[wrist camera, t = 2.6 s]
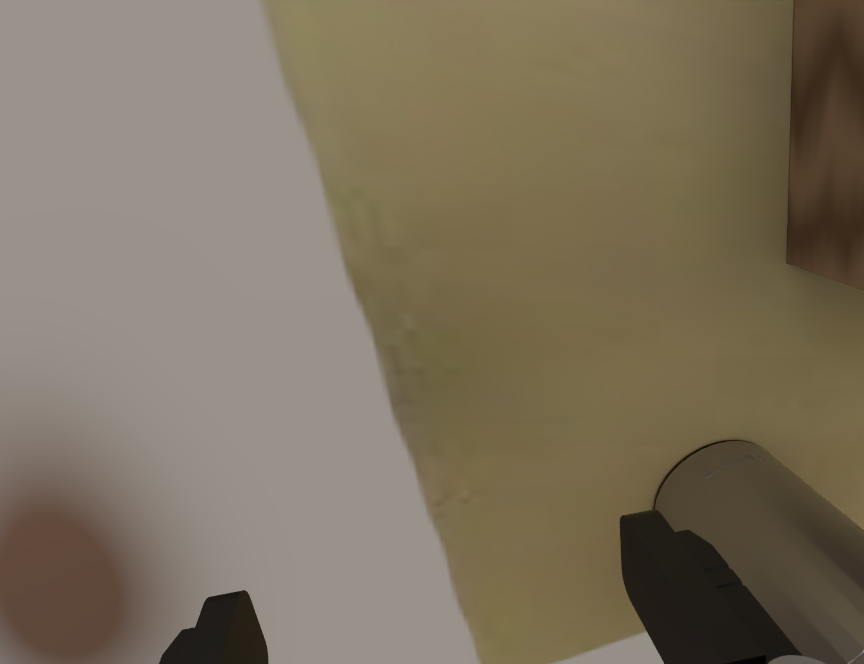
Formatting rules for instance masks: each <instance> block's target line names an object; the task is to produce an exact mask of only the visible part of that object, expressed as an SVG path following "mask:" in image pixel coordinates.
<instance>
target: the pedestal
mask: <svg viewBox="0 0 864 664" xmlns="http://www.w3.org/2000/svg"><path fill="white" fill-rule="evenodd" d="M787 263H788V264H791V265H794V266H797V267H800V268H803V269H805V270H808V271H811V272H814V273H817V274H819V275H822V276H825V277H828V278H831V279H833V280H836V281H839V282H842V283H845V284H847V285H850V286H853V287H856V288H859V289H861V290H864V0H795V1H794V35H793V69H792V103H791V137H790V172H789V206H788V240H787Z"/></svg>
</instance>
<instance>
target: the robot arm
mask: <svg viewBox="0 0 864 664" xmlns="http://www.w3.org/2000/svg"><path fill="white" fill-rule="evenodd" d="M620 540H621V564H622V575H623V580H624V584H625V588H626V591H627V594H628V596H629V599H630V601H631V603H632V605H633V607H634V608H635V610H636V612H637V614H638V616H639V618H640V619H641V621H642V623H643V625H644V627H645V629H646V631H647V632H648V634H649V636H650V638H651V640H652V641H653V643H654V645H655V647H656V649H657V651H658V653H659V654H660V656H661V658H662V660H663V662H664V664H864V530H863V529H862V528H861V527H860V526H858V525H857V524H856V523H855V522H853V521H852V520H851V519H850V518H848V517H847V516H846V515H845V514H843V513H842V512H841V511H840V510H839V509H837V508H836V507H835V506H834V505H832V504H831V503H830V502H829V501H827V500H826V499H825V498H824V497H822V496H821V495H820V494H819V493H817V492H816V491H815V490H814V489H813V488H811V487H810V486H809V485H808V484H806V483H805V482H804V481H803V480H801V479H800V478H799V477H798V476H796V475H795V474H794V473H793V472H792V471H790V470H789V469H788V468H787V467H785V466H784V465H783V464H782V463H780V462H779V461H778V460H777V459H775V458H774V457H773V456H772V455H770V454H769V453H768V452H767V451H766V450H764V449H763V448H761V447H759V446H757V445H755V444H753V443H749V442H744V441H727V442H723V443H718V444H714V445H712V446H709V447H707V448H704V449H701V450H700V451H698V452H696V453H695V454H693V455H691V456H690V457H688V458H687V459H686V460H685V461H683V462H682V463H681V464H680V465H678V466H677V467H676V468H675V470H674V471H673V472H672V473H671V474H670V475H669V476H668V478H667V479H666V481H665V482H664V484H663V486H662V487H661V489H660V492H659V494H658V497H657V499H656V505H655V509H654V510H649V511H644V512H639V513H633V514H628V515H623V516H621V518H620ZM159 664H268V651H267V645H266V642H265V639H264V636H263V633H262V630H261V627H260V624H259V622H258V619H257V616H256V613H255V610H254V607H253V604H252V602H251V599H250V596H249V594H248V592H247V591H245V590H243V591H238V592H233V593H228V594H222V595H217V596H212V597H208V598H207V599H206V601H205V602H204V605H203V607H202V610H201V613H200V616H199V618H198V621H197V624H196V627H195V628H190V629H184V630H182V631H181V632H180V633H179V634H178V636H177V637H176V638H175V640H174V641H173V642H172V643H171V645H170V646H169V647H168V649H167V650H166V651H165V652H164V654H163V655H162V657H161V661H160V663H159Z"/></svg>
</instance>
